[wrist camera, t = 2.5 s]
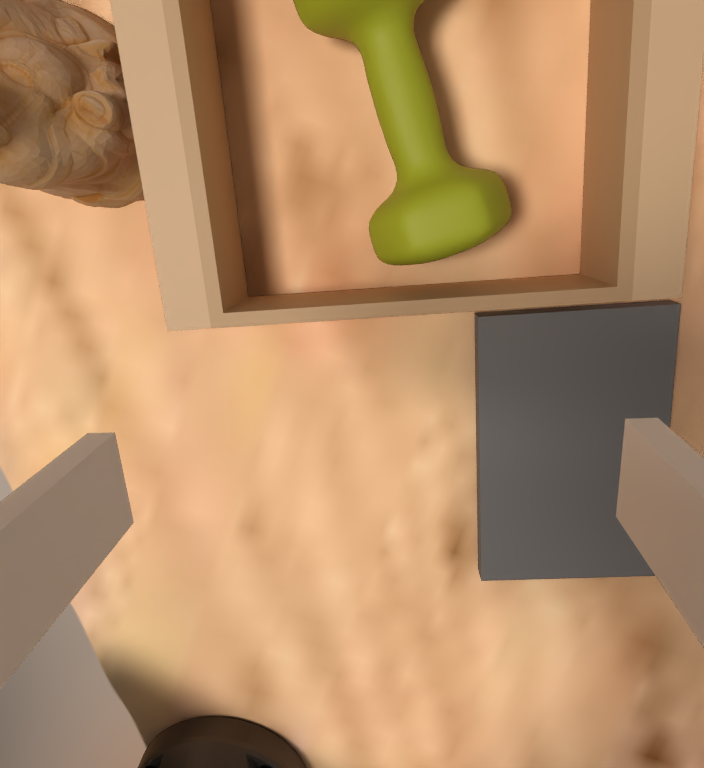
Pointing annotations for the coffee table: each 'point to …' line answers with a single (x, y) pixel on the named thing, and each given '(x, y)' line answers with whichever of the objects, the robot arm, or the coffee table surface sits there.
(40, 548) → the robot arm
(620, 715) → the coffee table surface
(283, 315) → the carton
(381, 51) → the dumbbell
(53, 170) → the statue
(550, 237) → the coffee table surface
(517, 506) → the mat
